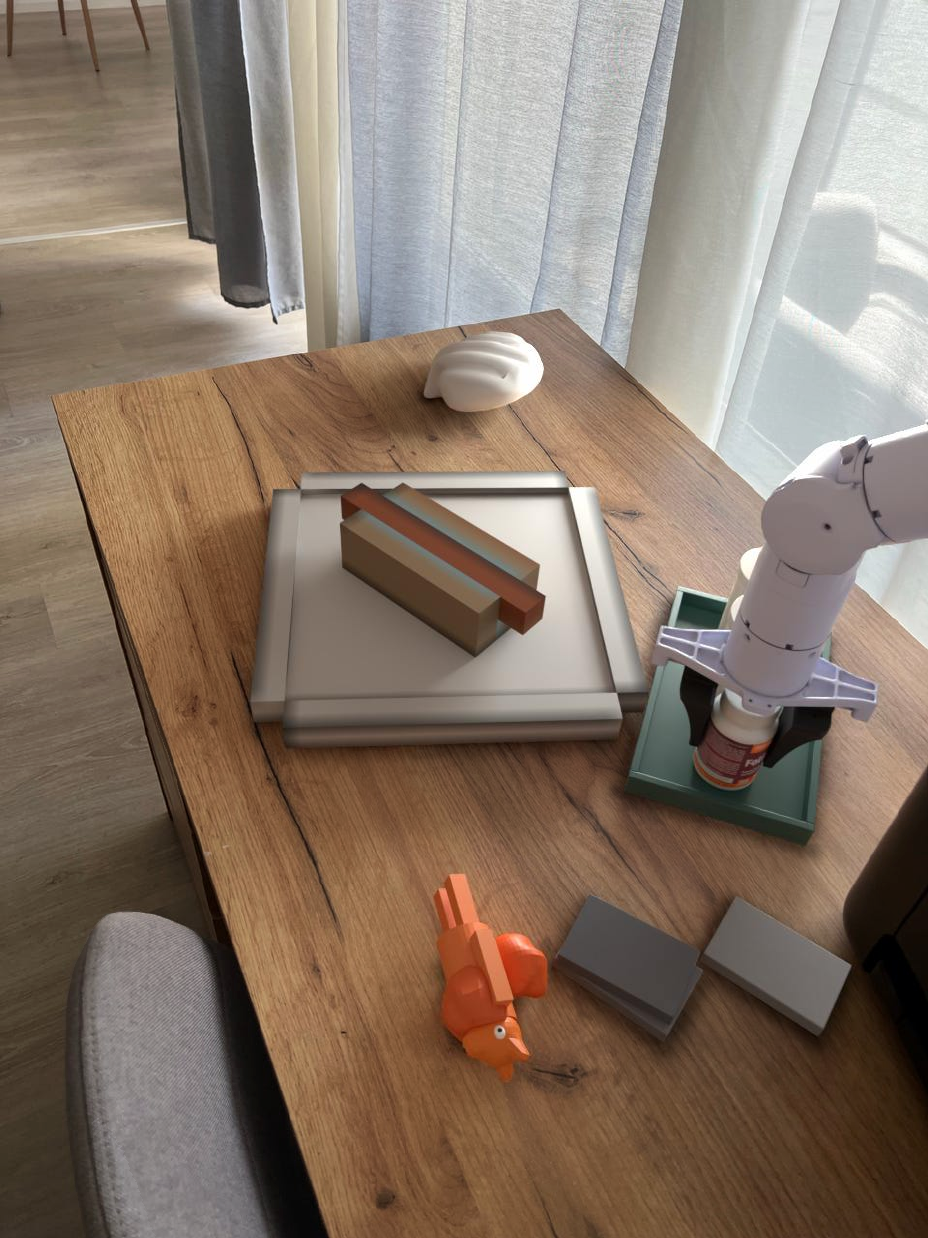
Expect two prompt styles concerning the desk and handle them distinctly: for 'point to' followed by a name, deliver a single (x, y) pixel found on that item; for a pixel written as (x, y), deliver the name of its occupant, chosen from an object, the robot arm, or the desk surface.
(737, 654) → the robot arm
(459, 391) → the shell shaped sculpture
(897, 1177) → the desk surface
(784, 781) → the tray
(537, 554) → the silver square tray
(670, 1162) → the desk surface
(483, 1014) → the orange toy bird
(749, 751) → the pill bottle
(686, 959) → the grey books
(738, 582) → the white cylinders
